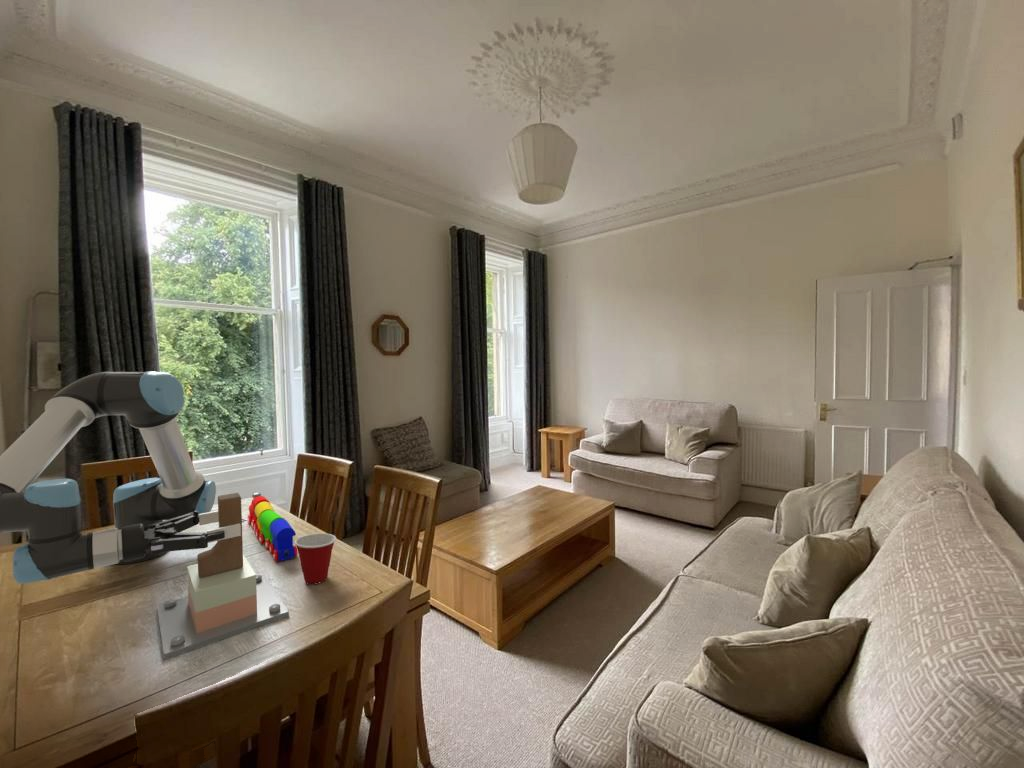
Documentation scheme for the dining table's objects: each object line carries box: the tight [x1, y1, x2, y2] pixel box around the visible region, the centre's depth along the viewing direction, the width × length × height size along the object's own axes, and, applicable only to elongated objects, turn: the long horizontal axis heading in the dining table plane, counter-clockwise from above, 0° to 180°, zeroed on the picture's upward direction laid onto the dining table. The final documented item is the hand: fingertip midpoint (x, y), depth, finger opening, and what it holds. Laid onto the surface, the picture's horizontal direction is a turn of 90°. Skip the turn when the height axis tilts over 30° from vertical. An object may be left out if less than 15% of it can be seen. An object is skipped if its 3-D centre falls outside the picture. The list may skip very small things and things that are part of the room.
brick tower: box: [156, 553, 290, 661], centre depth 109 cm, size 24×24×11 cm
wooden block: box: [197, 492, 244, 578], centre depth 108 cm, size 9×4×18 cm, turn 128°
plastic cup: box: [294, 533, 337, 585], centre depth 126 cm, size 11×11×12 cm
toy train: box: [247, 492, 298, 563], centre depth 153 cm, size 45×7×11 cm, turn 42°
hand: (235, 521), depth 110 cm, fingers open, 13 cm apart
